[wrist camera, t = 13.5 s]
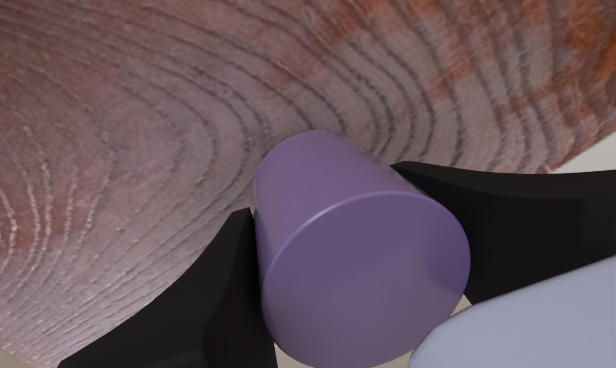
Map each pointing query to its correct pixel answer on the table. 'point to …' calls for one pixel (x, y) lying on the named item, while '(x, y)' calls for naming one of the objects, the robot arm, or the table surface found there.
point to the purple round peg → (350, 254)
